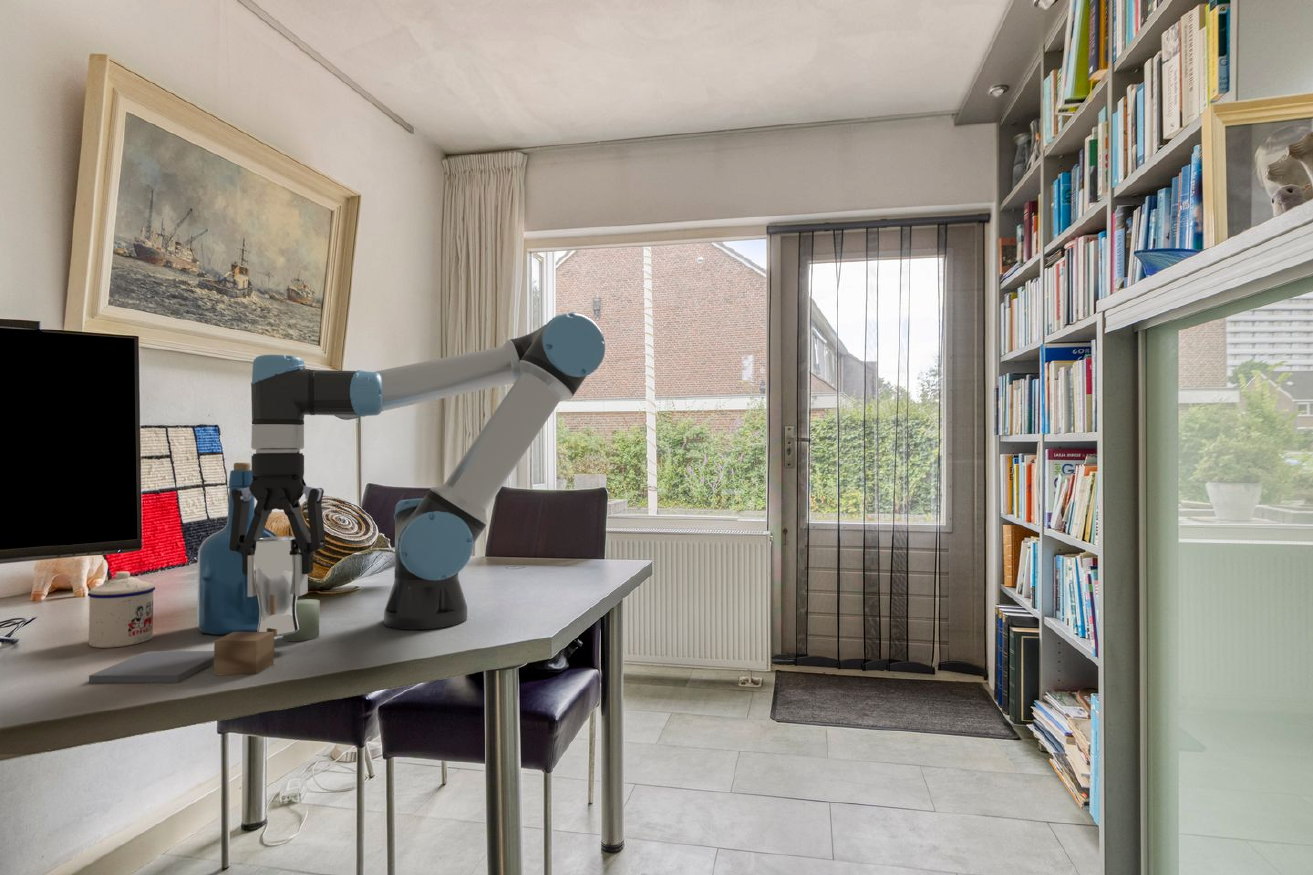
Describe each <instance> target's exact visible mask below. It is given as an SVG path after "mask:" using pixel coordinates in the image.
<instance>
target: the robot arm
mask: <svg viewBox="0 0 1313 875" xmlns="http://www.w3.org/2000/svg"><path fill="white" fill-rule="evenodd" d="M605 353H606V343H605V338H604V334H603V332H602V331H601V328H599V326H598V325H597V324H596V323H595V321H593V320H592V319H591V318H589V317H588V316H586V315H583V314H581V313H575V312H567V313H562V314H559V315H558V314H557V315H556V316H553V318H551V319H550V320H549V321H548V322H547V323H546V324H544V325H542V326H541V327H539V328H538V329H537V330H534V331H532V332H530V333H529V334H526V335H525V334H524V335H523V336H520V337H516V338H511V339H506V341H505V343H504V344H503V345H502V346H498V347H492V348H488V349H482V350H477V351H472V352H467V353H462V354H458V355H453V356H447V357H442V358H441V357H440V358H438V359H432V360H427V361H421V362H417V363H412V364H408V365H407V364H406V365H401V366H396V367H392V368H386V369H381V370H376V371H365V370H361V369H360V370H359V369H357V370H331V369H330V370H329V369H328V370H327V369H326V370H325V369H323V370H322V369H310V368H306V365H305V360H304V359H303V358H302V357H299V356H298V355H297V356H296V355H285V354H261V355H258V356H257V357H255V358H254V359H253V362H252V372H251V373H252V374H251V381H250V387H251V388H250V389H251V390H250V391H251V392H250V394H251V399H250V400H251V441H250V442H251V446H250V447H251V449H252V450H255V453H253V454H252V455H251V466H250V470H251V473H252V478H253V479H252V482H251V484H250V487H247V488H242V489H234V490H232V492H231V494H232V498H233V502H234V509H233V518H232V527H231V536H230V545H229V549H230V550H231V551H236V552H239V553H241V554H242V565H243V566H242V572H243V574H244V575H248V597H253V596H256V595H257V594H256V589H255V584H254V577H253V552H254V540H256V539H260V538H261V536H262V533H263V531H264V528H266V525H267V522H268V520H269V517H270V515H271V513H273V510H279V511H281V510H282V511H283V513H284V514H285V516H286V517H287V519H288V522H289V525H290V527H291V530H292V533H293V536H295V539H296V542H297V544H298V547H299V550H300V552H299V554H298V555H295V596H297V597H301V596H303V595H306V594H308V593H309V591H308V590H309V589H308V587H309V586H308V584H309V583H308V580H309V579H308V575H309V574H312V573H313V570H314V553H315V552H316V551H319V550H321V549H324V548H326V537H325V526H324V516H323V506H322V501H323V498H324V493H325V491H324V490H325V489H324V488H322V487H312V486H307V484H306V482H305V480H304V478H305V455H304V453H303V452H301V450H303V449H304V448H305V416H309V415H310V416H334V417H336V418H339V419H341V420H344V421H349V420H354V419H355V420H356V419H359V418H361V417H366V416H367V417H369V416H378V415H380V414H382V412H384V411H390V410H394V409H399V408H402V407H403V408H404V407H409V406H413V405H418V404H421V403H423V404H424V403H427V402H431V401H436V400H441V399H446V398H450V397H454V396H459V395H464V394H469V393H473V392H478V391H483V390H488V389H492V388H493V389H494V388H497V387H501V386H506V385H512V386H511V388H510V389H509V391H508V392H507V393H506V394H505V396H504V397H503V399H502V401H501V402H500V403H499V405H498V406H497V408H496V409H495V411H494V412H493V413H492V415H491V416H490V418H489V419H488V421H487V422H486V424H485V425H484V426H483V428H482V430H481V431H480V432H479V434H478V435H477V436H476V438H475V439H474V441H473V442H472V444H471V445H470V446H469V447H468V449H467V451H466V452H465V454H464V455H463V456H462V458H461V459H460V460H459V462H458V464H457V465H456V466H455V468H454V469H453V471H452V472H451V474H450V475H449V477H448V478H447V480H445V483H443V484H441V485H437V486H432V487H430V489H429V490H428V492H426V494H425V496H424V497H423V498H412V499H410V498H409V499H402V500H399V501H398V502H397V503H396V504H395V510H394V515H393V519H394V576H393V577H394V579H393V585H392V587H391V590H390V593H389V596H388V600H387V602H386V605H385V608H384V611H383V624H384V625H385V627H388V628H389V627H390V628H392V629H396V630H397V629H399V630H430V629H440V628H446V627H451V626H455V625H457V624H461V623H463V622H465V621H466V620H468V604H467V602H466V599H465V596H464V593H463V589H462V586H461V582H460V579H459V578H460V577H459V573H460V572H461V571H462V570H463V569H464V568H465V567H466V566H467V564H468V562H469V560H470V558H471V557H472V554H473V549H474V546H475V544H476V542H477V540H478V538H479V537H480V536H481V534H482V533H483V531H484V529H485V528H486V526H487V525H488V519H487V510H488V508H489V507H490V505H491V503H492V502H493V501H494V499H495V498H496V496H497V495H498V493H499V492H500V491H501V488H503V486H504V484H505V483H506V481H507V480H508V479H509V477H510V476H511V475H512V473H513V471H514V470H515V468H516V466H517V465H518V464H519V462H520V461H521V459H522V458H523V456H524V455H525V453H526V452H527V450H528V449H529V447H531V445H532V443H533V442H534V440H535V439H536V437H537V435H538V434H539V433H540V431H541V430H542V428H544V425H546V424H545V423H546V422H547V421H548V419H549V418H550V416H551V415H552V414H553V412H554V410H555V409H556V407H557V406H558V405H559V403H560V402H563V401H569V400H571V399H572V398H573V397H574V396H575V394H576V393H577V391H578V390H579V388H580V386H582V384H583V382H584V381H585V379H586V378H587V376H589V375H592V373H594V372H595V371H596V370H598V368H599V366H601V364H602V362H603V360H604V358H605V355H606V354H605ZM251 494H252V495H253V496H254V500H256V501H257V502H256V504H255V509H254V516H253V519H252V522H251V524H250V527H249V530H248V533H247V524H248V515H249V505H250V503H249V500H250V499H251ZM303 495H305V500H306V501H307V503H306V505H307V514H308V515H307V516H308V518H307V519H308V526H309V528H308V526H307V524H306V520H305V518H304V516H303V513H302V511H303V508H302V506H301V503H300V499H301V497H302V496H303ZM246 533H247V535H246Z"/></svg>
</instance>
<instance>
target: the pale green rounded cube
mask: <svg viewBox="0 0 1313 875" xmlns="http://www.w3.org/2000/svg"><path fill="white" fill-rule="evenodd" d="M320 603H321V601H320V600H319V599H314V598H313V599H311V598H308V599H307V598H306V599H305V598H304V599H297V604H296V613H297V619H298V624H299V630H298V631H297V632H295V633H292V634H288V635H283V636H282V640H283V641H287V642H302V641H303V642H304V641H309V640H314V639H317V638H319V637H320V607H321V606H320Z"/></svg>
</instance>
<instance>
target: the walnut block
mask: <svg viewBox="0 0 1313 875" xmlns="http://www.w3.org/2000/svg"><path fill="white" fill-rule="evenodd" d="M213 643H214V646H213V647H214V648H213V649H214V650H213V651H214V664H213V675H214V676H219V674H220V675H222V676H223V675H224V676H226V675H227V676H228V675H229V676H231V675H232V676H238V675H239V676H240V675H241V676H245V675H247V676H250V675H251V676H255V675H258V674H260V673H261V672H264V671H265V670H266V669H268V668H270V667H272V666H273V665H274V662H275V661H274V660H275V659H274V658H275V657H274V656H275V654H274V652H275V651H274V650H275V648H274V647H275V637H274V632H257V631H256V632H232V633H230V634H228V635H223V636H222V637H220V638H218V639H215V640H214V641H213Z"/></svg>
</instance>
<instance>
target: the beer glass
mask: <svg viewBox="0 0 1313 875" xmlns="http://www.w3.org/2000/svg"><path fill="white" fill-rule="evenodd" d="M299 552H300V550H299V547H298V544H297V542H296V539H295V536H294V535H289V536H288V535H285V536H284V535H283V536H281V535H280V536H278V537H267V538H260V539H256V540H254V552H253V577H254V584H255V589H256V594H257V598H258V604H259V622H258V627H257V631H256V632H274V638H275V637H283V635H288V634H292V633H295V632H297V631H298V630H299V624H298V619H297V613H296V604H297V600H298V596H295V555H298V554H299Z"/></svg>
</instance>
